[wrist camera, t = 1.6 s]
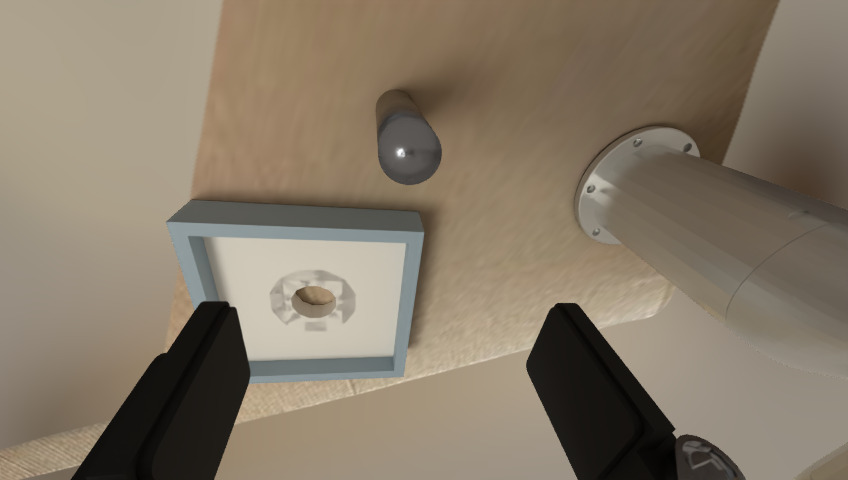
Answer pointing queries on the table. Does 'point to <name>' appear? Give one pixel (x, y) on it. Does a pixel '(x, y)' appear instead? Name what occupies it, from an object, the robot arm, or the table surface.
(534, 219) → the table surface
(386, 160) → the peg
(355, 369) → the box
